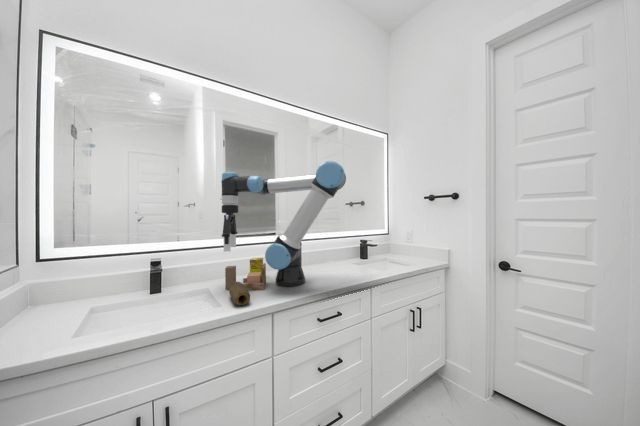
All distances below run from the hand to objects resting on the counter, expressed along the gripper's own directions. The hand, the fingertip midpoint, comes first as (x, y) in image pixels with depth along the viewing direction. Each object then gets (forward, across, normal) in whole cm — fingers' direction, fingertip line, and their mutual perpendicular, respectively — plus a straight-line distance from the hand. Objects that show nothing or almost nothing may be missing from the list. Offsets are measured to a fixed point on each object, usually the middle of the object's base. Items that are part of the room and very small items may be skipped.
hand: (230, 249), depth 114 cm
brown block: (+18, 0, +6) cm, 19 cm away
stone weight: (+19, +19, +7) cm, 27 cm away
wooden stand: (+19, 0, +11) cm, 21 cm away
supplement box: (+19, -16, +11) cm, 27 cm away
